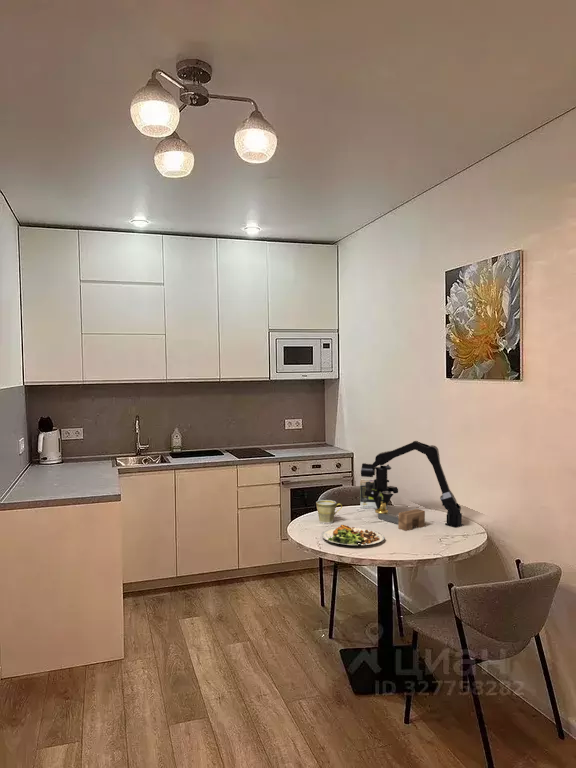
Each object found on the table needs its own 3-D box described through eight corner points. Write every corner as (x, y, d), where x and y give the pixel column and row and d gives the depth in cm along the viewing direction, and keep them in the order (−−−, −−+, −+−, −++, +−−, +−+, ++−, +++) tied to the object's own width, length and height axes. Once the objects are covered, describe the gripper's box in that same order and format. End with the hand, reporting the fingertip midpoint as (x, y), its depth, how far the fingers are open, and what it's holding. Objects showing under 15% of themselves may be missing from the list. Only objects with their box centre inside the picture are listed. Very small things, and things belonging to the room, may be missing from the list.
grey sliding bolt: (408, 523, 279) (408, 507, 279) (399, 525, 276) (399, 509, 275) (381, 515, 294) (381, 500, 294) (372, 517, 290) (372, 502, 290)
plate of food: (338, 552, 236) (339, 538, 236) (311, 534, 262) (311, 521, 262) (396, 547, 247) (397, 533, 247) (364, 529, 272) (365, 517, 272)
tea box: (387, 505, 319) (387, 478, 319) (387, 509, 309) (388, 482, 309) (360, 504, 321) (360, 478, 321) (359, 508, 311) (360, 481, 311)
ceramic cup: (316, 525, 277) (316, 504, 277) (315, 519, 287) (315, 499, 287) (343, 524, 278) (343, 504, 278) (340, 519, 288) (340, 499, 288)
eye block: (424, 526, 275) (424, 511, 275) (406, 530, 268) (406, 515, 268) (416, 524, 279) (416, 509, 279) (398, 528, 272) (398, 512, 272)
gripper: (383, 473, 301) (383, 502, 302) (357, 477, 290) (357, 507, 290) (398, 476, 292) (398, 506, 293) (372, 480, 281) (372, 512, 281)
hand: (381, 508), depth 289 cm, fingers closed on grey sliding bolt, 4 cm apart
